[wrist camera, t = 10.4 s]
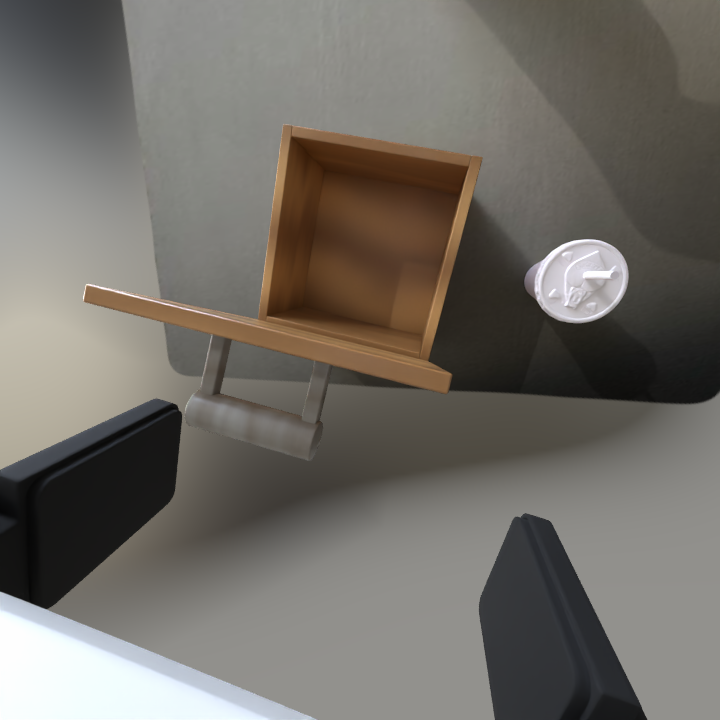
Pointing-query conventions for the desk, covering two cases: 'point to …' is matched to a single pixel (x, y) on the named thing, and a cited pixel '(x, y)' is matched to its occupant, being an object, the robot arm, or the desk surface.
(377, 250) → the box
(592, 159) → the desk surface
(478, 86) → the desk surface
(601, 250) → the smoothie
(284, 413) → the box lid
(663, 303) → the desk surface
